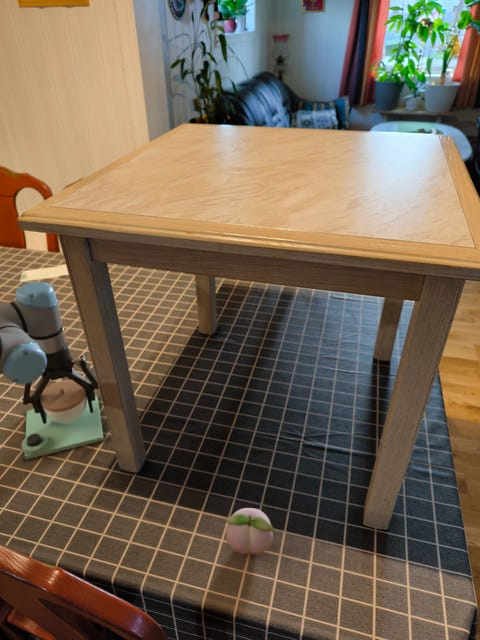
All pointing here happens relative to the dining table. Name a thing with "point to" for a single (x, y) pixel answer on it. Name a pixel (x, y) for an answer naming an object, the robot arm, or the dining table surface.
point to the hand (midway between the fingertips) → (68, 414)
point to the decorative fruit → (249, 531)
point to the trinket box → (64, 401)
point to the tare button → (34, 440)
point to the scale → (62, 432)
